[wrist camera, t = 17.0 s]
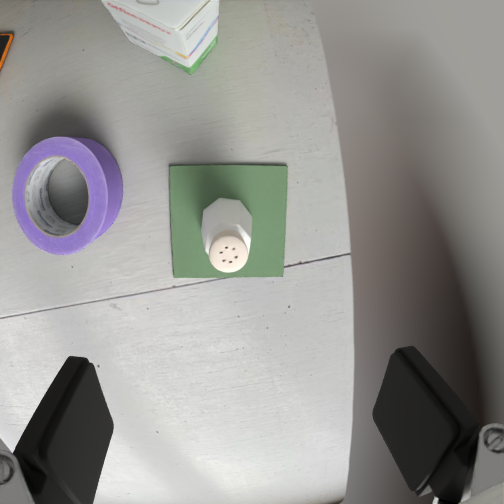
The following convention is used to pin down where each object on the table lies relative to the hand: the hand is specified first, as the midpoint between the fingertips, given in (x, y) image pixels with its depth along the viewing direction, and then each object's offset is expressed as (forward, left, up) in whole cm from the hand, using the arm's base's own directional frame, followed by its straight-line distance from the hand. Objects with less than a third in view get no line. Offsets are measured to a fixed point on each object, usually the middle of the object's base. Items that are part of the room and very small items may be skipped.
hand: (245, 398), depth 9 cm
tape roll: (+17, -4, -26) cm, 31 cm away
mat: (0, 0, -25) cm, 25 cm away
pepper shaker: (0, 0, -25) cm, 25 cm away
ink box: (+6, -20, -26) cm, 33 cm away
